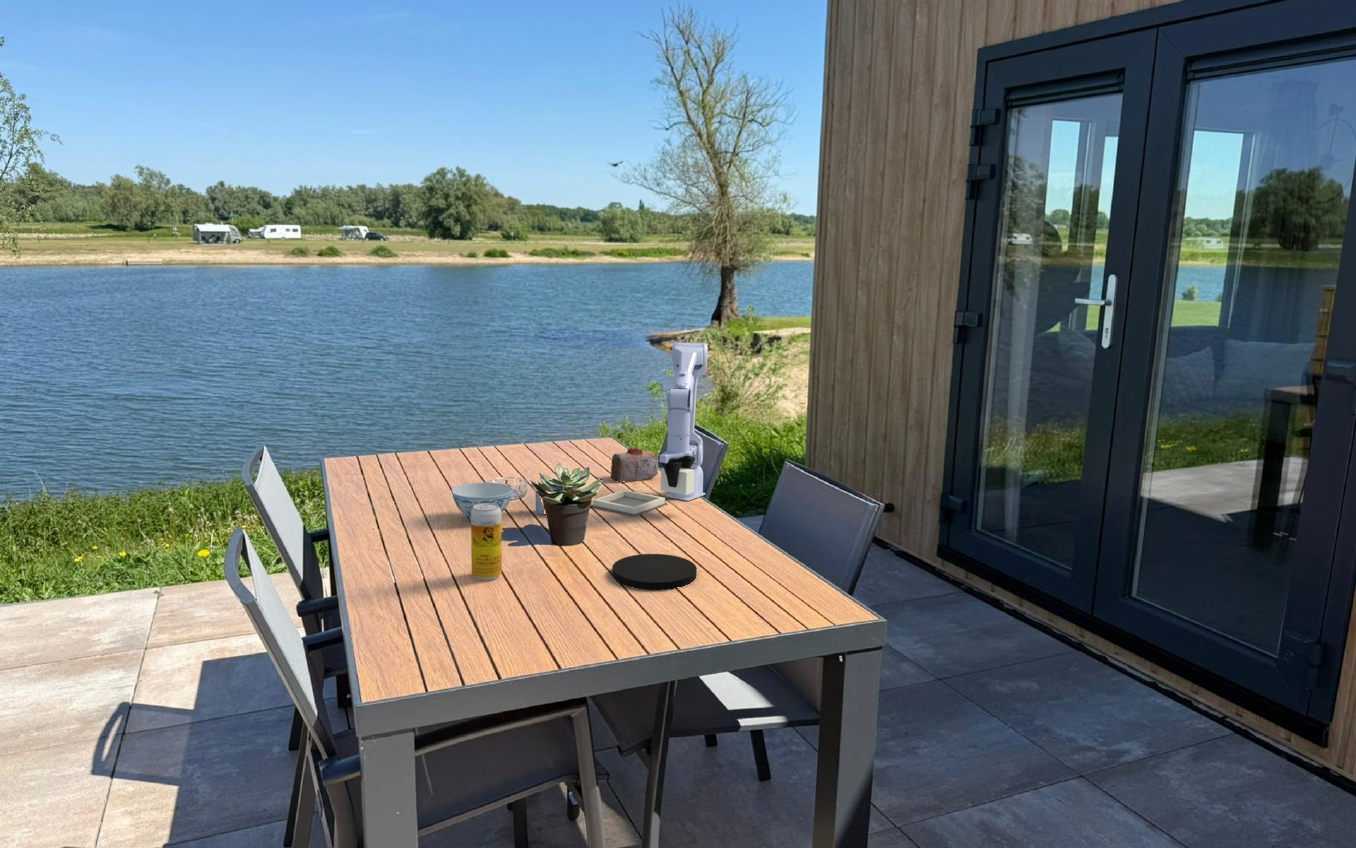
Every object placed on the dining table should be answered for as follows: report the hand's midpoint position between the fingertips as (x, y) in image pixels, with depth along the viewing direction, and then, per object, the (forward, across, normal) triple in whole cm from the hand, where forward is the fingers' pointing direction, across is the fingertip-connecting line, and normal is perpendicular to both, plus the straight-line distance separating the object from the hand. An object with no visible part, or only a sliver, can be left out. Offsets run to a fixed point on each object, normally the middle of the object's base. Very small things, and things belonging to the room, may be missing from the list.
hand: (677, 485), depth 227 cm
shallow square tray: (+8, -2, +14) cm, 17 cm away
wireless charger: (+8, -42, -22) cm, 48 cm away
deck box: (+2, 0, 0) cm, 2 cm away
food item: (+8, +24, +31) cm, 40 cm away
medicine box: (+8, -20, +26) cm, 34 cm away
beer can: (+8, -64, +5) cm, 65 cm away
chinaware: (+8, -35, +36) cm, 51 cm away
